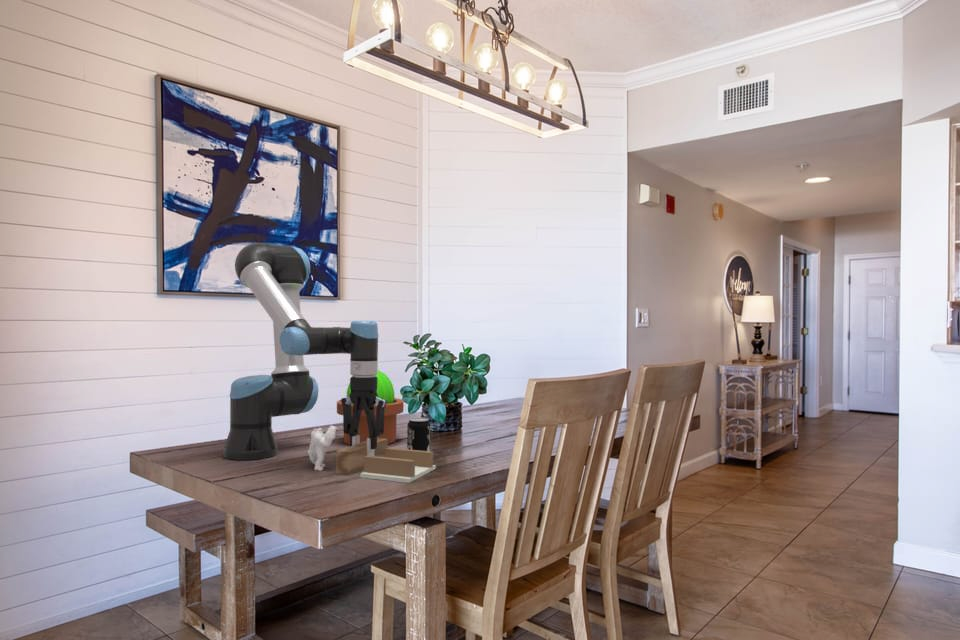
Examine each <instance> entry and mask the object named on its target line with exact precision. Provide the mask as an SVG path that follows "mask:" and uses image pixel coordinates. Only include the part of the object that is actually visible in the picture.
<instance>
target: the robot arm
mask: <svg viewBox="0 0 960 640" xmlns="http://www.w3.org/2000/svg"><path fill="white" fill-rule="evenodd" d="M234 271H235V274H236V277H237V278H238V281H239V282H240V283H241V284H242V285H243V287H246V288H249V289H250V291H251V292H252V294H253V295H254V296H255V298H256V299H257V301H258V302H259V303H260V305H261V306H262V308H263V309H264V311H265V312H266V313H267V314H268V317H269V318H270V319H271V320H272V325H273V326H272V327H273V329H272V330H273V342H274V345H273V346H274V358H275V361H274V362H275V363H274V364H275V368H274V370H273V371H272V372H271V373H270V374H257V375H255V374H254V375H248V376H243V377H239V378H236V379H235V380H233V382H231V385H230V392H229V393H230V394H229V398H230V400H229V403H230V405H229V407H230V411H229V432H228V435H227V438H226V441H225V446H224V447H223V455H222V456H223V458H224V459H227V460H236V461H250V460H252V461H253V460H260V459H267V458H270V457H274V456H276V455H277V454H278V444H277V442H276V438H275V435H274V432H273V429H272V424H273V423H272V422H273V421H272V420H273V417H275V418H276V417H283V416H284V417H285V416H293V415H294V416H295V415H300V414H304V413H308V412H310V411H311V410H312V409H313V408H314V407H315V405H316V403H317V402H318V398H319V384H318V382H317V380H316V379H315V377H313V376H310V370H309V369H308V368H307V367H306V366H305V362H304V359H305V358H304V356H309V355H311V356H312V355H334V354H335V355H336V354H349V355H350V358H349V359H350V366H349V367H350V371H349V373H350V375H351V377H350V378H349V381H350V382H349V383H350V389H351V393H350V395H349V397H346V396H345V397H343V398H341V399H340V400H341V402H342V405H343V415H342V416H343V417H342V419H343V420H342V422H343V423H342V425H343V434H344V433H347V434H349V435H350V445H349V447H350V446H353V445H356V444H359V443H360V435H357V434H359V433H358V427H359V422H360V417H361V412H362V411H363V410H364V412H365V414H366V417H367V423H368V429H369V435H370V436H368V437H369V438H367V455H368V456H374V449H376V448H377V437H378V436H379V435H382V434H383V433H384V410H385V406H386V403H387V401H386V400H382V399H380V398H378V395H377V384H378V378H377V377H376V376H375V375H377V374H378V371H379V370H378V369H379V368H378V367H379V366H378V364H379V363H378V357H379V356H378V355H379V348H378V347H379V331H378V330H379V329H378V328H379V327H378V323H377V321H374V320H352V321H351V322H350V327H345V326H344V327H343V326H332V327H321V326H320V327H315V326H311V325H310V323H309V322H308V321H307V320H306V318H305V317H304V316H303V314H302V312H301V301H300V300H301V299H300V292H301V290H302V289H303V288H304V283H305V282H306V281H308V279H309V277H310V276H309V275H310V274H311V264H310V258H309V257H308V254H307V253H306V252H305V251H304V250H303V249H301V248H299V247H295V246H291V245H281V244H271V243H264V242H253V243H250V244H247V245H245V246H244V247H242V249H240V251H239V252H238V254H237V255H236V257H235V260H234ZM351 403H353V410H352V411H353V415H352V411H351ZM375 403H376V406H377V409H376V420H375V414H374V411H375V409H374V404H375ZM369 409H370V410H369Z"/></svg>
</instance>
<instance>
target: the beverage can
mask: <svg viewBox="0 0 960 640" xmlns="http://www.w3.org/2000/svg"><path fill="white" fill-rule="evenodd" d="M429 420H430V419H429V418H427V417H411V418H409V419H408V423H407V428H406V429H407V432H406V433H407V434H406V436H407V437H406V439H407V444H406V449H409V450H419V451H430V452H431V423H430V421H429Z"/></svg>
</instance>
